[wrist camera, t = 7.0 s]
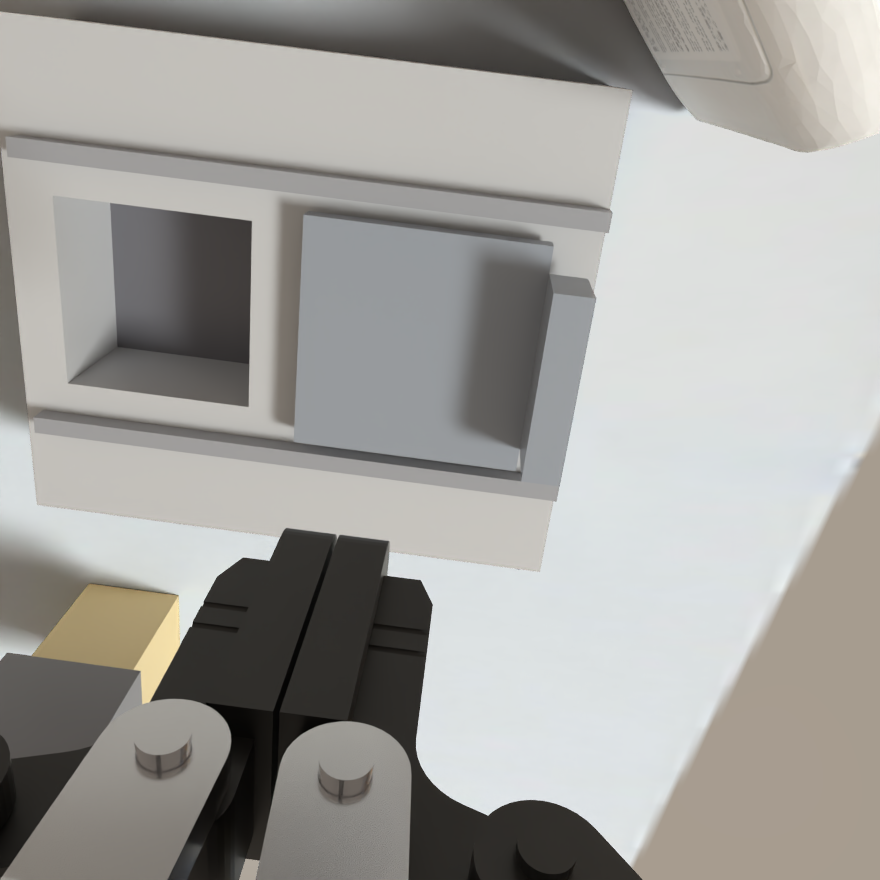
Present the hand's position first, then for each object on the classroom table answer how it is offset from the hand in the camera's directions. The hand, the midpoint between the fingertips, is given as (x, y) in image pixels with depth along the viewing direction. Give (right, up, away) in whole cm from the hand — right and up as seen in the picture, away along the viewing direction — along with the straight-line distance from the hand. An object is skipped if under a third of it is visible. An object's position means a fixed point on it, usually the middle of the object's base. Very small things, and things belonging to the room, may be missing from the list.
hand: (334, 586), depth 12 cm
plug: (-11, -5, +22) cm, 25 cm away
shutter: (+1, +5, +11) cm, 12 cm away
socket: (-2, +7, +15) cm, 17 cm away
